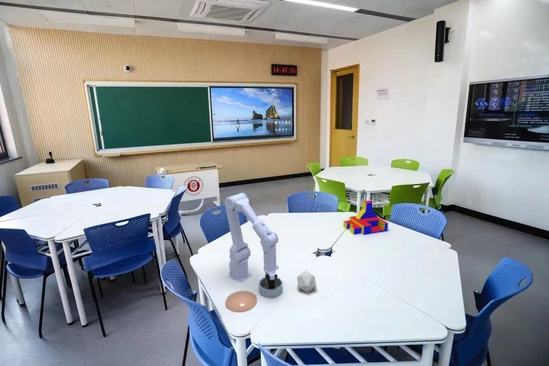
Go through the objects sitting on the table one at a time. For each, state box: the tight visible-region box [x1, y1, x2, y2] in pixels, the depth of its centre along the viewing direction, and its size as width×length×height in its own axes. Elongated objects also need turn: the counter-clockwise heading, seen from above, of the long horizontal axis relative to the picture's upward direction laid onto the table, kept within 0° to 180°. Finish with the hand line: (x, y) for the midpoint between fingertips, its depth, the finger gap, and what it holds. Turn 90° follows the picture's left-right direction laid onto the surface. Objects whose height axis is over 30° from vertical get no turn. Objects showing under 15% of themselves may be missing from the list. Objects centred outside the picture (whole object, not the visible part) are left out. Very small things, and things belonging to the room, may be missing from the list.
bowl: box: [258, 277, 284, 299], centre depth 135 cm, size 11×11×4 cm
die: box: [296, 270, 317, 293], centre depth 135 cm, size 8×9×10 cm
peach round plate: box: [225, 290, 258, 313], centre depth 128 cm, size 14×14×1 cm
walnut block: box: [264, 277, 276, 290], centre depth 134 cm, size 4×4×7 cm
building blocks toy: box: [342, 200, 389, 236], centre depth 200 cm, size 19×25×18 cm
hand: (270, 284), depth 134 cm, fingers open, 5 cm apart
